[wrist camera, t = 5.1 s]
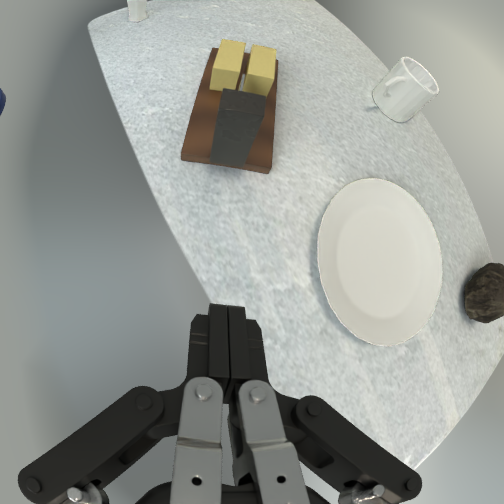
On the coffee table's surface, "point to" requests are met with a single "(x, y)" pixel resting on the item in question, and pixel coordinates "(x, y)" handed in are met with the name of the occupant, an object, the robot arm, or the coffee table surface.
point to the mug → (405, 90)
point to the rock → (486, 293)
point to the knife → (236, 125)
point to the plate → (379, 261)
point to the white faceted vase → (137, 10)
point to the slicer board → (205, 120)
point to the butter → (256, 72)
